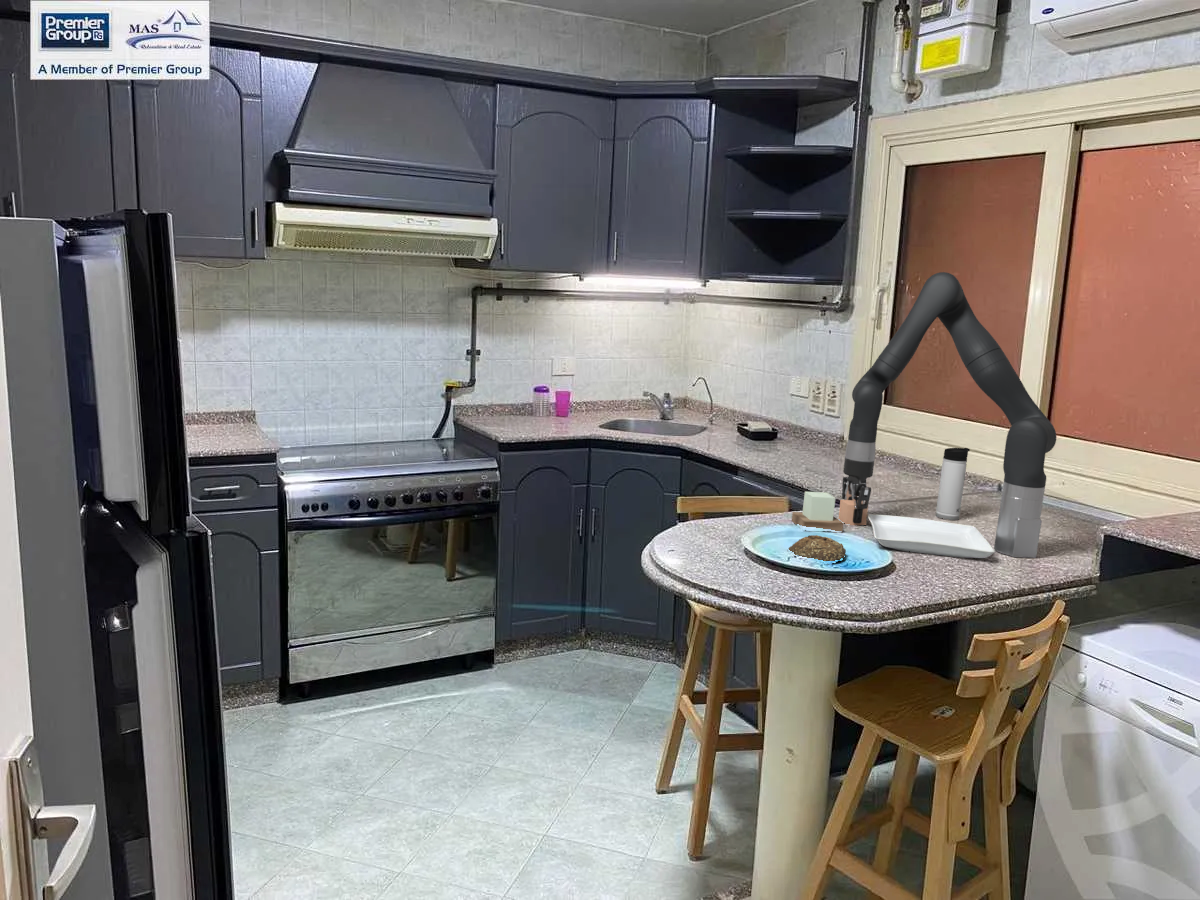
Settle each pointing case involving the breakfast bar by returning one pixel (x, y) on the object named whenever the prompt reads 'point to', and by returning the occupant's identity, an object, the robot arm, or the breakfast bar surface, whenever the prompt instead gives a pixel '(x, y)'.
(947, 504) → the travel mug
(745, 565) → the breakfast bar surface
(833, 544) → the bread roll
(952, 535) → the square plate
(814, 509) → the sage block
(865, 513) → the terracotta block
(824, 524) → the walnut slab
